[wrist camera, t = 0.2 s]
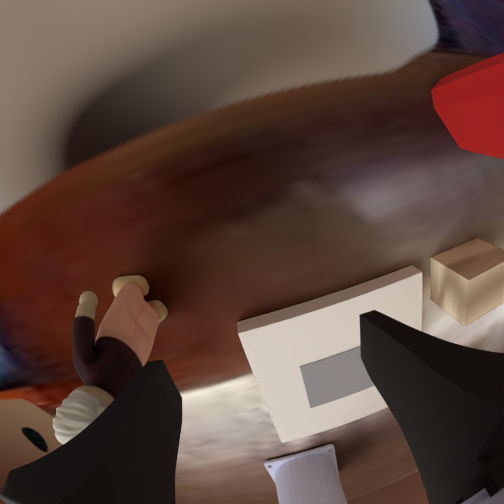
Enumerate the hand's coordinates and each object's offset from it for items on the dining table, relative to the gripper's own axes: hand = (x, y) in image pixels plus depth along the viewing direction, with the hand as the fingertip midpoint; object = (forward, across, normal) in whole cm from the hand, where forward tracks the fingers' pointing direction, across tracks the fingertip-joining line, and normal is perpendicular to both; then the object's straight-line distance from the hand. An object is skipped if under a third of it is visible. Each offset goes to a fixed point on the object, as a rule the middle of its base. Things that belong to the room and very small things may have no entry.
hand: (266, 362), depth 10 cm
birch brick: (+10, -17, +5) cm, 21 cm away
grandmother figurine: (+10, +8, +1) cm, 13 cm away
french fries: (+10, -19, -8) cm, 23 cm away
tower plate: (+10, -6, +11) cm, 16 cm away
